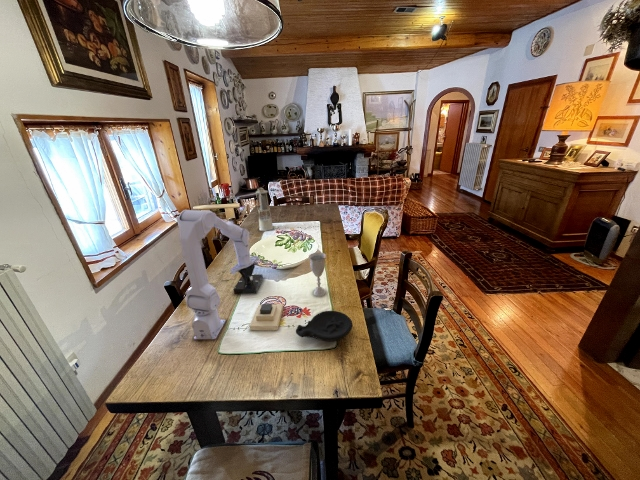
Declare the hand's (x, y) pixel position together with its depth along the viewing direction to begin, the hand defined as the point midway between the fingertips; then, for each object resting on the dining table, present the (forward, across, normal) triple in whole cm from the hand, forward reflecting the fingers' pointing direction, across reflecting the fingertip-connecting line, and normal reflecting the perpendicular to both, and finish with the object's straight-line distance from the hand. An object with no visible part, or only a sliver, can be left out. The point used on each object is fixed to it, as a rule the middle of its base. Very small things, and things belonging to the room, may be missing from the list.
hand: (248, 280), depth 116 cm
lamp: (+3, -56, -46) cm, 73 cm away
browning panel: (+3, 0, 0) cm, 3 cm away
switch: (0, +12, +23) cm, 26 cm away
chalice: (+3, -12, +31) cm, 34 cm away
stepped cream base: (+3, +12, +23) cm, 26 cm away
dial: (+1, 0, 0) cm, 1 cm away
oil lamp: (+3, +7, +46) cm, 47 cm away
